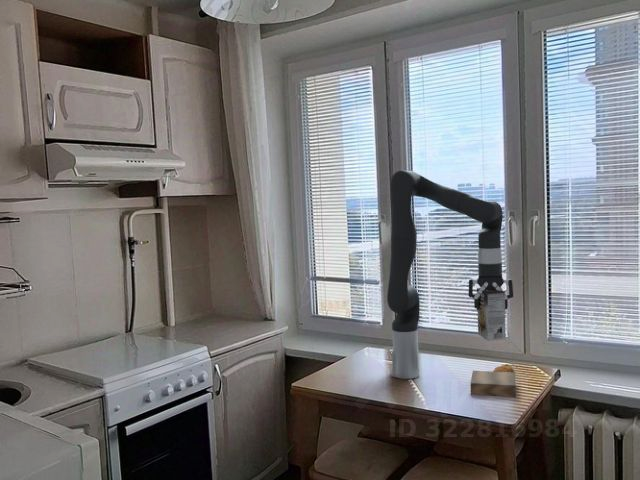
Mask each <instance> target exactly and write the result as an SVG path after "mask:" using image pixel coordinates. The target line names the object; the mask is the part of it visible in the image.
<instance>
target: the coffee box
mask: <svg viewBox="0 0 640 480" xmlns="http://www.w3.org/2000/svg"><path fill="white" fill-rule="evenodd" d="M480 288H481V287H476V293H477V292H478V290H480ZM481 291H482V290H481ZM505 293H506V292H505V291H504V290H503V291H500V290H499V291H495V290H483V291H482V293H481V295H480V296H479V297H478V298H479V310H477V309H476V311H477V334H478V335H479V336H480V337H481V338H484V340H486V341H488V342H489V341H491V342H492V341H504V340H506V339H507V337H506V335H507V334H506V311H505Z"/></svg>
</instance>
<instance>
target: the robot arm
mask: <svg viewBox="0 0 640 480" xmlns="http://www.w3.org/2000/svg"><path fill="white" fill-rule="evenodd" d="M389 184H390V186H389V187H390V200H391V202H390V203H391V233H390V262H389V263H390V265H389V280H388V287H387V294H386V295H387V296H386V299H387V304H388V305H387V306H388V307H389V309H390V310H391V311H392V312H393V313H396V316H395V318H394V320H393V321H392V323H391V330H392V332H391V333H392V334H391V335H392V351H391V366H392V367H391V369H392V377H393V378H398V379H402V380H409V379H410V380H411V379H416V378H418V377H419V376H420V367H419V365H420V364H419V337H418V336H419V335H418V330H419V329H418V326H419V325H418V324H419V322H420V295H419V293H418V291H417V289H416V288H415V287H413V286H412V285H408V283H409V281H408V280H409V274H410V271H411V270H410V269H411V267H412V265H413V262H414V260H415V256H416V254H417V246H418V244H417V242H418V241H417V239H418V235H417V234H418V233H417V230H416V229H417V228H416V224H415V222H414V221H415V220H414V218H413V215H412V208H411V207H412V196H413V197H419V198H423V199H428V200H431V201H432V202H435V203H436V204H438V205H440V206H442V207H443V208H446V209H448V210H450V211H453V212H456V213H459V214H462V215H465V216H467V217H469V218H471V219H473V220H475V221H477V222H480V223H481V230H480V231H479V233H478V237H477V238H478V242H477V243H478V249H477V250H478V252H477V267H478V271H477V272H478V278H477V279H473V278H469V279H468V297H469V298H472V299H473V301H474V302H473V303H474V304H473V305H474V309H476V311H477V310H479V298H478V297H479V296H480V295H481V293H482V291H483V290H495V291H499V290H500V291H504V289H502V286H503V285H504V284H505V285H506V286H507V287H508V294H507V293H506V292H505V312H506V310H507V309H508V307H509V306H508V305H509V304H508V303H509V301H508V300H510V299H511V298H514V286H513V285H514V284H513V279H512V278H508V279H504V278H503V257H502V255H503V254H502V248H501V231H502V224H503V219H504V218H503V214H504V213H503V208H502V206H501V204H500V203H498V202H497V201H495V200H487V201H486V200H483V199H480V198H477V197H474V196H473V195H472V194H471V193H467V192H464V191H461V190H458V189H455V188H452V187H448V186H446V185H442V184H440V183H437V182H434V181H432V180H431V179H428V178H426V177H424V176H422V175H421V174H419V173H417V172H416V171H413V170H398V171H396V172H395V173H394V174H393V175H392V177H391V179H390V183H389ZM476 284H477V285H478V286H479V288H480V290H478V292H477V291H476V293H473V290H474V286H475V285H476ZM481 290H482V291H481Z"/></svg>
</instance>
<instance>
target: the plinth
mask: <svg viewBox="0 0 640 480" xmlns="http://www.w3.org/2000/svg"><path fill="white" fill-rule="evenodd" d="M470 395H471V396H477V397H478V396H481V397H494V398H495V397H496V398H497V397H498V398H511V399H512V398H513V399H514V398H515V399H516V398H517V382H516V372H515V373H513V372H493V370H492V371H491V370H490V371H487V370H472V373H471V378H470Z"/></svg>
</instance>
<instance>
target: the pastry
mask: <svg viewBox="0 0 640 480" xmlns="http://www.w3.org/2000/svg"><path fill="white" fill-rule="evenodd" d="M492 372H513V373H515V374H516V371H515V369H514V368H513V366H512V365H510V364H502V365H500V366H496V367H495V368H494V369H493V370H492Z"/></svg>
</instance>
